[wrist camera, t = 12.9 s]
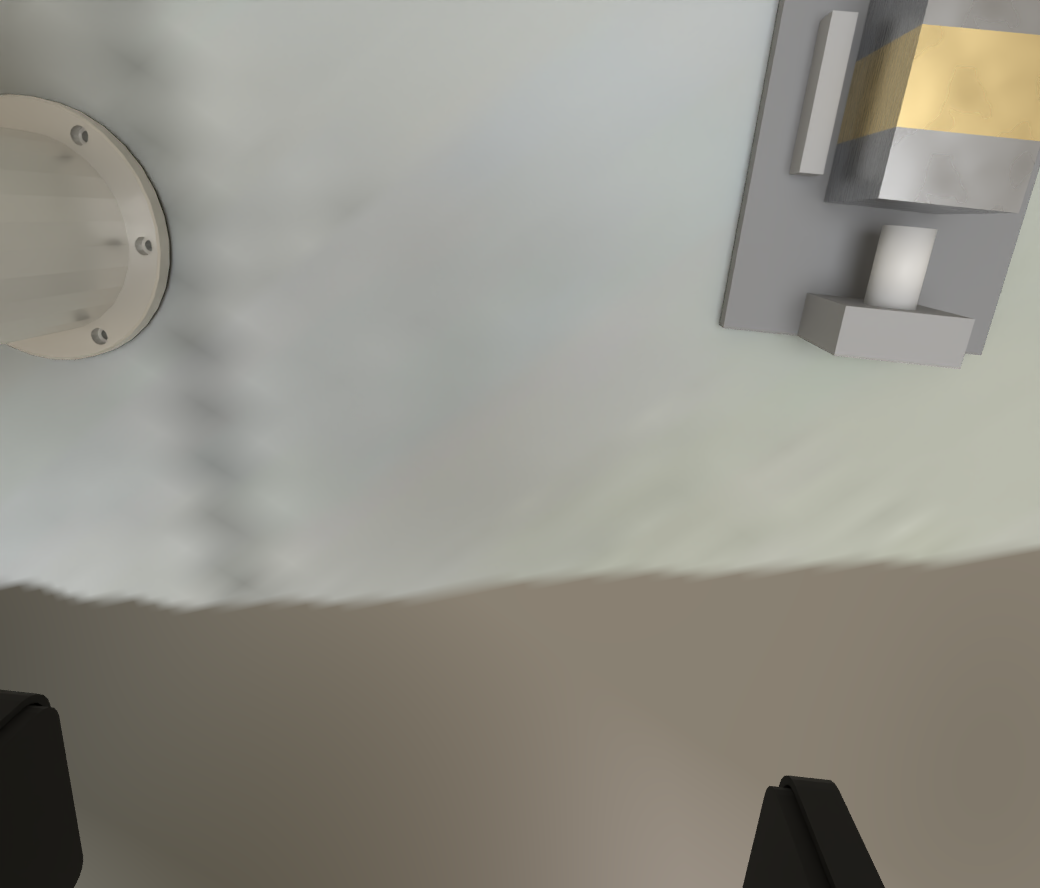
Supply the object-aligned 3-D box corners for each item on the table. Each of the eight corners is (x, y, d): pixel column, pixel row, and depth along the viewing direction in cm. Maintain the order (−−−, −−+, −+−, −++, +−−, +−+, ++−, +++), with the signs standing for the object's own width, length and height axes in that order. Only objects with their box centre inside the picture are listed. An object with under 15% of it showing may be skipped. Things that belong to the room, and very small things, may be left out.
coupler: (871, -4, 28) (943, -60, 23) (995, 8, 28) (1100, -46, 22) (823, 202, 31) (878, 198, 25) (937, 214, 31) (1018, 213, 25)
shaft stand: (969, 351, 33) (1049, 378, 28) (719, 324, 34) (747, 346, 28) (1123, -155, 27) (1268, -254, 21) (812, -176, 28) (872, -279, 22)
